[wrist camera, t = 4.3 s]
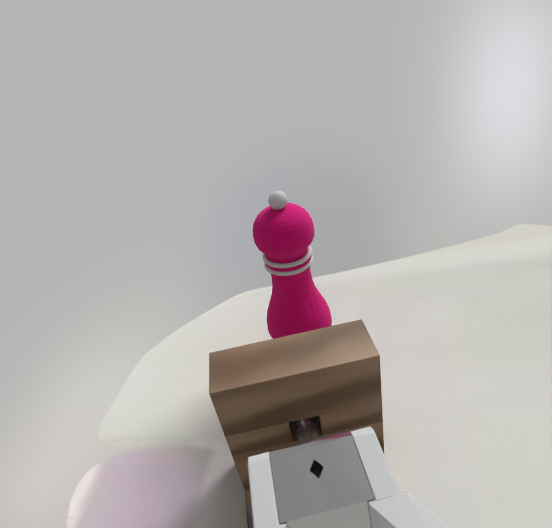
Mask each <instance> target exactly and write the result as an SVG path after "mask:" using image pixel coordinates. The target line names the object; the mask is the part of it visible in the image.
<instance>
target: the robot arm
mask: <svg viewBox="0 0 552 528" xmlns="http://www.w3.org/2000/svg"><path fill="white" fill-rule="evenodd" d="M248 474H249V485H250V495H251V506H252V517H253V528H450V527H449V526H448V525H447V524H445V523H444V522H443V521H442V520H440V519H439V518H438V517H437V516H436V515H434V514H433V513H432V512H431V511H429V510H428V509H427V508H426V507H424V506H423V505H422V504H421V503H419V502H418V501H417V500H416V499H414V498H413V497H412V496H411V495H410V494H408V493H407V492H405V493H400V492H399V490H398V487H397V485H396V482H395V480H394V477H393V475H392V473H391V470H390V468H389V465H388V463H387V461H386V458H385V456H384V453H383V451H382V449H381V446H380V444H379V441H378V439H377V436H376V434H375V432H374V430H373V429H372V428H371V427H370V426H369V427H365V428H362V429H358V430H354V431H351V432H350V431H348V432H344V433H340V434H337V435H333V436H329V437H326V438H322V439H318V440H314V441H311V442H309V443H305V444H301V445H297V446H292V447H288V448H284V449H280V450H276V451H272V452H266V453H262V454H259V455H255V456H251V457H248Z"/></svg>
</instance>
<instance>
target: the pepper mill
mask: <svg viewBox="0 0 552 528" xmlns="http://www.w3.org/2000/svg"><path fill="white" fill-rule="evenodd" d="M269 205H270V206H269V207H267V208H265V209H264V210H263V211H261V212H260V213H259V215H258V216H257V218H256V219H255V221H254V225H253V237H254V241H255V244H256V246H257V247H258V249H259V250H260V251H261V252H263V253H264V254H263V260H264V262H265V263H264V265H265V268H266V270H267V271H268V272H269V273H271V276H272V285H273V288H272V295H271V299H270V303H269V307H268V311H267V325H268V331H269V334H270V335H271V337H272V338H273V339H276V338H280V337H285V336H289V335H294V334H298V333H303V332H307V331H312V330H316V329H321V328H325V327H330V326H331V323H332V319H331V314H330V309H329V307H328V305H327V303H326V301H325V299H324V298H323V297H322V295H321V294H320V293H319V291H318V290H317V288H316V287H315V285H314V282H313V280H312V276H311V272H310V265H311V264H312V262H313V256H312V248H311V246H310V244H311V242H312V240H313V237H314V226H313V221H312V218H311V217H310V215H309V213H308V212H307V211H306V210H305V209H303V208H302V207H301V206H298V205H296V204H292V203H287V196H286V195H285V193H283V192H281V191H275V192H273V193H272V194H271V195H270V197H269Z"/></svg>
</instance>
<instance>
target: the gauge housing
mask: <svg viewBox="0 0 552 528" xmlns="http://www.w3.org/2000/svg"><path fill="white" fill-rule="evenodd" d="M209 394H210V397H211V399H212V402H213V405H214V407H215V410H216V413H217V416H218V418H219V421H220V424H221V426H222V429H223V432H224V434H225V437H226V440H227V443H228V445H229V448H230V451H231V453H232V456H233V459H234V461H235V464H236V467H237V470H238V472H239V475H240V478H241V480H242V483H243V486H244V488H245V496H246V509H247V523H248V528H253V517H252V506H251V495H250V485H249V474H248V457H251V456H255V455H259V454H262V453H266V452H272V451H276V450H280V449H284V448H288V447H292V446H297V445H299V444H298V440H297V435H296V430H295V425H294V421H297V420H302V419H306V418H310V417H314V420H315V424H316V428H317V432H318V435H319V439H322V438H326V437H329V436H333V435H337V434H340V433H344V432H348V431H350V432H351V431H354V430H358V429H362V428H365V427H369V426H370V427H371V428H372V429H373V430H374V432H375V434H376V436H377V439H378V441H379V444H380V446H381V449H382V451H383V453H384V441H383V419H382V397H381V375H380V355H379V353H378V351H377V349H376V347H375V345H374V343H373V341H372V339H371V337H370V335H369V333H368V331H367V329H366V327H365V325H364V323H363V321H362V319H361V320H357V321H352V322H348V323H343V324H339V325H334V326H330V327H325V328H321V329H316V330H312V331H307V332H303V333H298V334H294V335H289V336H285V337H280V338H276V339H271V340H266V341H262V342H257V343H253V344H248V345H244V346H239V347H235V348H230V349H226V350H221V351H217V352H212V353H209Z"/></svg>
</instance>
